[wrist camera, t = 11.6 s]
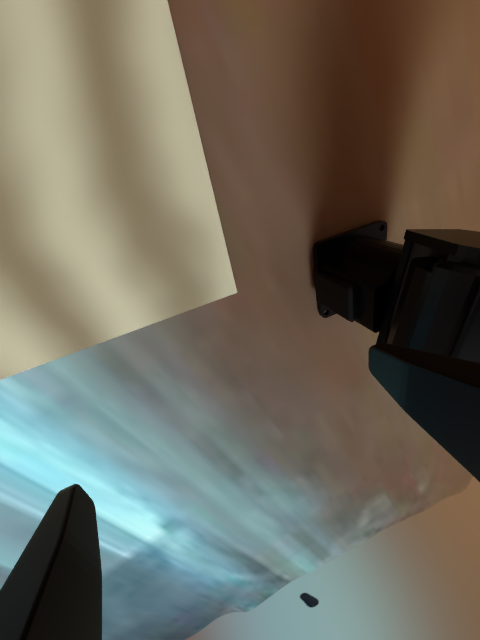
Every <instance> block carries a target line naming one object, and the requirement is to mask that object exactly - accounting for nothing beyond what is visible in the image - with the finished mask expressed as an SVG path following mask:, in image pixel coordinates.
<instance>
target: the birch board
mask: <svg viewBox="0 0 480 640" xmlns="http://www.w3.org/2000/svg"><path fill="white" fill-rule="evenodd" d="M235 293H237V290H236V286H235V281H234V277H233V273H232V269H231V265H230V260H229V256H228V252H227V248H226V244H225V240H224V235H223V231H222V227H221V223H220V219H219V214H218V210H217V206H216V202H215V198H214V194H213V189H212V185H211V181H210V177H209V173H208V168H207V164H206V160H205V156H204V152H203V147H202V143H201V139H200V135H199V131H198V127H197V122H196V118H195V114H194V110H193V106H192V101H191V97H190V93H189V89H188V85H187V81H186V76H185V72H184V68H183V64H182V60H181V55H180V51H179V47H178V43H177V39H176V35H175V30H174V26H173V22H172V18H171V14H170V9H169V5H168V1H167V0H0V380H1V379H4V378H6V377H9V376H12V375H14V374H17V373H20V372H23V371H25V370H28V369H31V368H33V367H36V366H39V365H42V364H44V363H47V362H50V361H53V360H55V359H58V358H61V357H63V356H66V355H69V354H72V353H74V352H77V351H80V350H82V349H85V348H88V347H91V346H93V345H96V344H99V343H101V342H104V341H107V340H110V339H112V338H115V337H118V336H121V335H123V334H126V333H129V332H131V331H134V330H137V329H140V328H142V327H145V326H148V325H150V324H153V323H156V322H159V321H161V320H164V319H167V318H170V317H172V316H175V315H178V314H180V313H183V312H186V311H189V310H191V309H194V308H197V307H199V306H202V305H205V304H208V303H210V302H213V301H216V300H218V299H221V298H224V297H227V296H229V295H232V294H235Z"/></svg>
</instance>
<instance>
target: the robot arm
mask: <svg viewBox="0 0 480 640" xmlns="http://www.w3.org/2000/svg"><path fill="white" fill-rule="evenodd" d="M380 226H381V227H380ZM379 228H380V229H379ZM386 239H387V223H386V222H385V221H376V222H373V223H370V224H367V225H364V226H362V227H359V228H356V229H353V230H350V231H347V232H344V233H342V234H339V235H336V236H333V237H330V238H327V239H324V240H321V241H319V242H317V243H316V244H315V245H314V249H313V251H314V263H315V274H314V275H315V287H316V298H317V301H318V309H319V315H321V316H322V317H324V318H327V317H329V316H332V315H334V314H339V315H340V316H342V317H343V318H345V319H347V320H348V321H350V322H353V321H356V322H358V323H359V324H361V325H363V326H364V327H366V328H368V329H369V330H371V331H373V332H374V333H377V332H379V335H378V338H377V342H376V345H373V346H371V347H370V348H369V370H370V372H371V373H372V375H373V376H374V377H375V378H376V379H377V380H378V382H379V383H380V384H381V385H382V386H383V387H384V388H385V390H386V391H387V392H388V393H389V394H390V395H391V396H392V398H393V399H394V400H395V401H396V402H397V403H398V404H399V406H400V407H401V408H402V409H403V410H404V411H405V412H406V413H407V414H408V415H409V416H410V417H411V418H412V419H413V420H414V421H416V422H417V423H418V424H419V425H420V426H421V427H422V428H423V429H424V430H425V431H426V432H427V433H428V434H429V435H430V436H431V437H432V438H434V439H435V440H436V441H437V442H438V443H439V444H440V445H441V446H442V447H443V448H444V449H445V450H446V451H447V452H448V453H449V454H451V455H452V456H453V457H454V458H455V459H456V460H457V461H458V462H459V463H460V464H461V465H462V466H463V467H464V468H465V469H466V470H467V471H469V472H470V473H471V474H472V475H473V476H474V477H475V478H476V479H477V480H478V481H479V482H480V232H477V231H469V230H461V229H407V230H406V232H405V236H404V239H405V242H404V245H402V244H398V243H394V242H390V241H386ZM321 246H322V249H321V251H319V249H320V247H321ZM325 310H326V312H325ZM324 312H325V313H324ZM0 640H102V570H101V558H100V549H99V539H98V530H97V520H96V511H95V505H94V503H93V501H92V499H91V498H90V497H89V496H88V494H87V493H86V492H85V491H84V490H83V489H82V487H81V486H80V485H78V484H73V485H71V486H69V487H67V488H65V489H63V490H61V491H60V492H59V493H58V494H57V495H56V497H55V499H54V500H53V502H52V504H51V505H50V507H49V509H48V510H47V512H46V514H45V516H44V517H43V519H42V521H41V522H40V524H39V526H38V527H37V529H36V531H35V532H34V534H33V536H32V538H31V539H30V541H29V543H28V544H27V546H26V548H25V549H24V551H23V553H22V554H21V556H20V558H19V560H18V561H17V563H16V565H15V566H14V568H13V570H12V571H11V573H10V575H9V576H8V578H7V580H6V582H5V583H4V585H3V587H2V588H1V590H0Z"/></svg>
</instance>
